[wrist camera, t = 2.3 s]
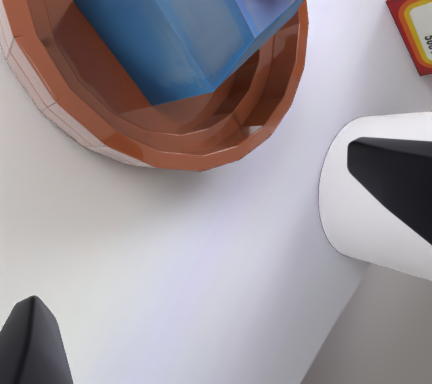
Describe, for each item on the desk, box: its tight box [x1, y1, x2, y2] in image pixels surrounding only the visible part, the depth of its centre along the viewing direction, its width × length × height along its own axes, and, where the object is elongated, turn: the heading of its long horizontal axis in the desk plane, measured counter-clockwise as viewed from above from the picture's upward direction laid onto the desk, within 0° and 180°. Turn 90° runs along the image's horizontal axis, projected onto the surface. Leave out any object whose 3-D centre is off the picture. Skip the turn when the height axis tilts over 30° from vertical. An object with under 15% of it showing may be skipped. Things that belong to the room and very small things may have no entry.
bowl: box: [0, 0, 309, 171], centre depth 17 cm, size 16×16×4 cm
